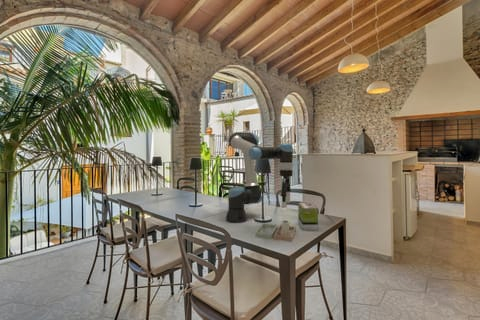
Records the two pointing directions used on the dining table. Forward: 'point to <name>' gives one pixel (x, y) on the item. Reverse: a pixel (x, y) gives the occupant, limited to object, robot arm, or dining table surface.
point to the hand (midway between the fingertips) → (286, 204)
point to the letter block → (285, 228)
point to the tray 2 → (287, 238)
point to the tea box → (308, 216)
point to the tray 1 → (265, 233)
